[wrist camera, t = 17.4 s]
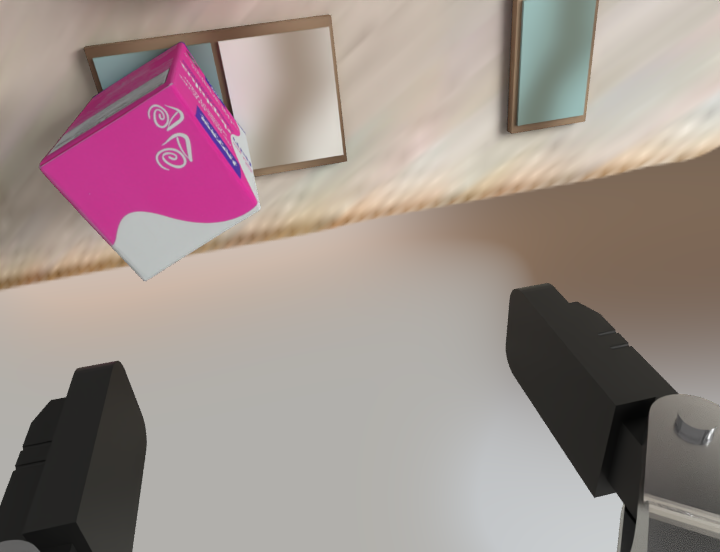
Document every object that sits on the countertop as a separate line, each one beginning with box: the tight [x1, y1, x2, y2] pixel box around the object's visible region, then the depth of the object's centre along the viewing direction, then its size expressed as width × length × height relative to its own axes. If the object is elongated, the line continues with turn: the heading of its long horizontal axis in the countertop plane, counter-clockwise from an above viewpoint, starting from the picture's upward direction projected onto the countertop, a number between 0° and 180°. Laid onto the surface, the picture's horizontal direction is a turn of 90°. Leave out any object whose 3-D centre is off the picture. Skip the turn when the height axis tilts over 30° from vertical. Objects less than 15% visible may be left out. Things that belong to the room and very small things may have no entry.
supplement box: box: [39, 42, 261, 281], centre depth 26 cm, size 6×6×11 cm
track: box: [84, 0, 599, 177], centre depth 32 cm, size 28×8×1 cm, turn 95°
